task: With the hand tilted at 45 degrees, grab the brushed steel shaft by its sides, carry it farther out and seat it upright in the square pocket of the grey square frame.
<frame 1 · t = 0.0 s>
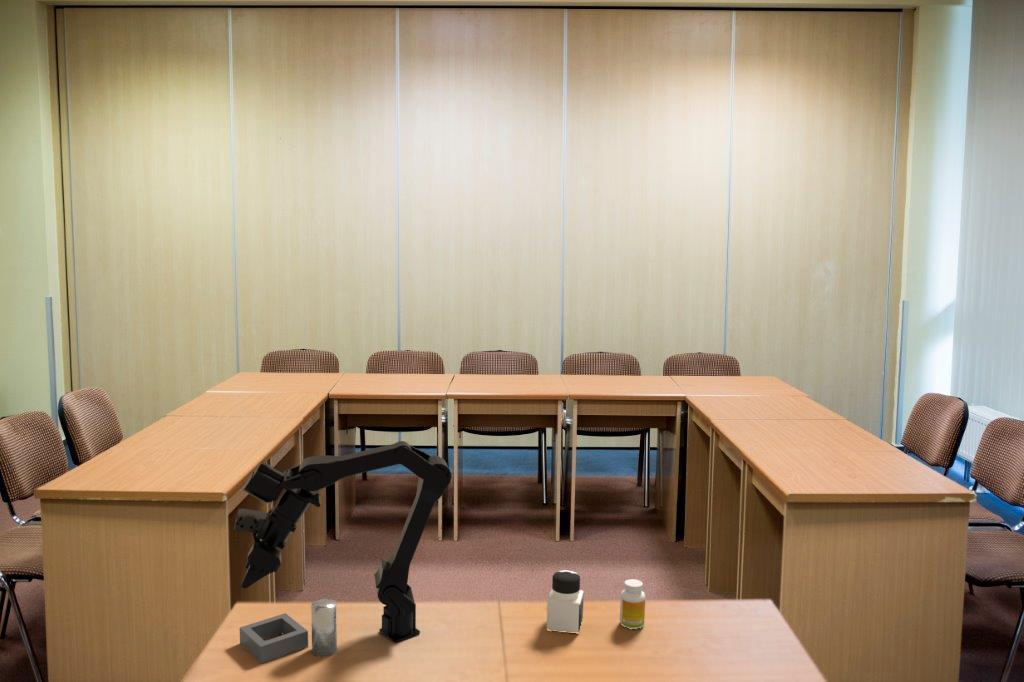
hand: (245, 577, 169), 15 cm above the table, tool tilted 35°, fingers open, 9 cm apart
grey square frame: (274, 645, 171), on the table
supplement bottle: (631, 625, 183), on the table
steel shaft: (324, 650, 170), on the table
medicine bottle: (564, 626, 182), on the table
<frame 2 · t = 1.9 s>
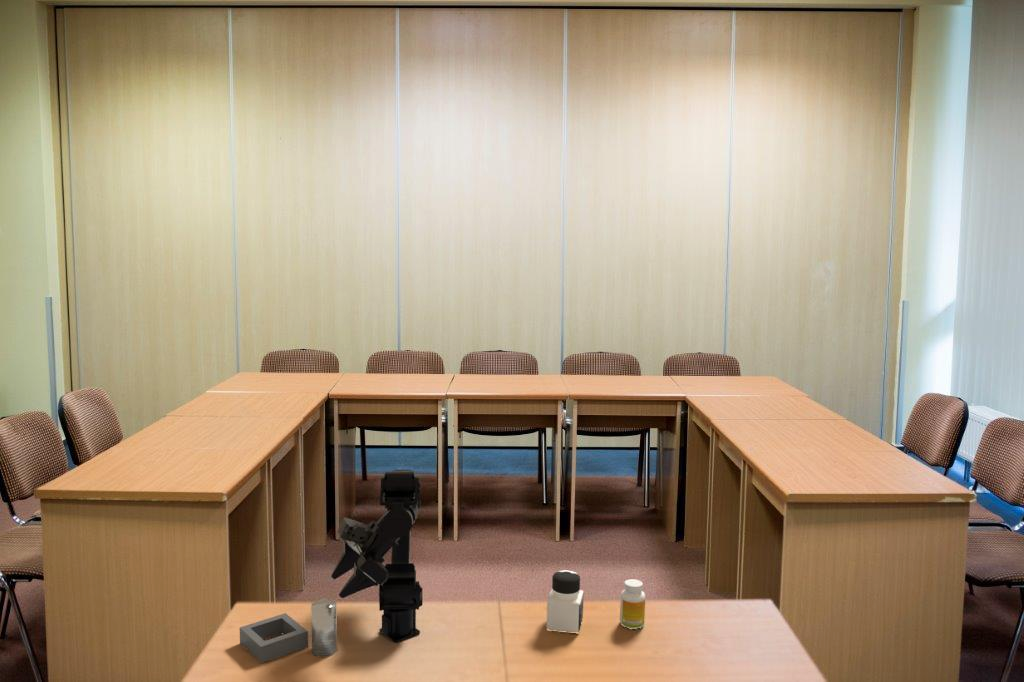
hand: (336, 587, 169), 13 cm above the table, tool tilted 45°, fingers open, 9 cm apart
nothing on the table moved.
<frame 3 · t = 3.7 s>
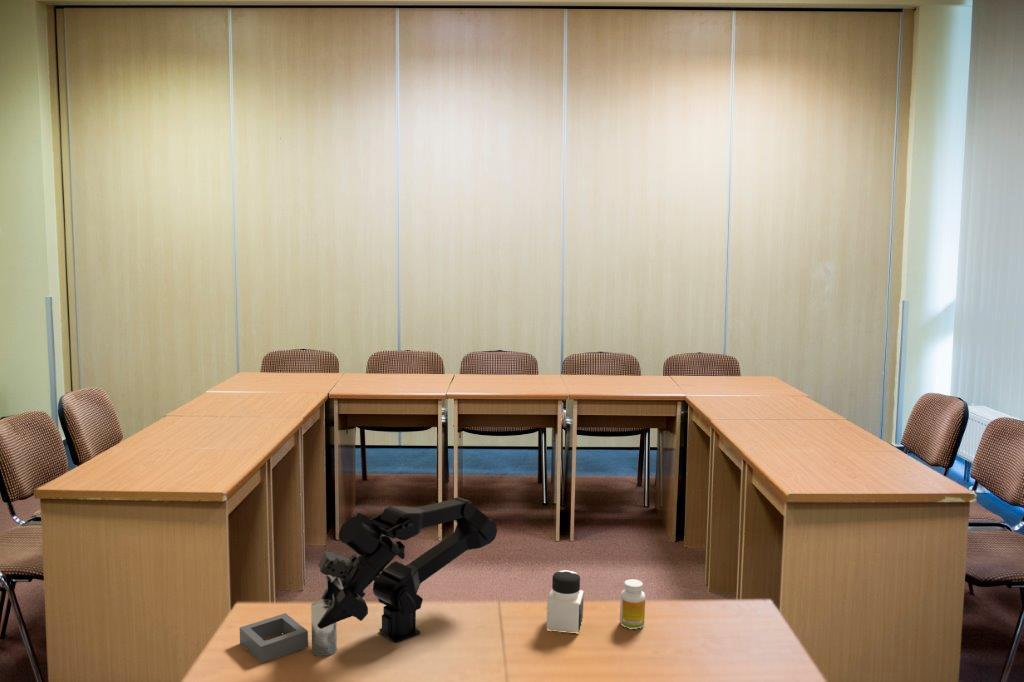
hand: (317, 621, 168), 7 cm above the table, tool tilted 45°, fingers closed on steel shaft, 5 cm apart
steel shaft: (324, 650, 170), on the table, touching gripper
everything else where it was.
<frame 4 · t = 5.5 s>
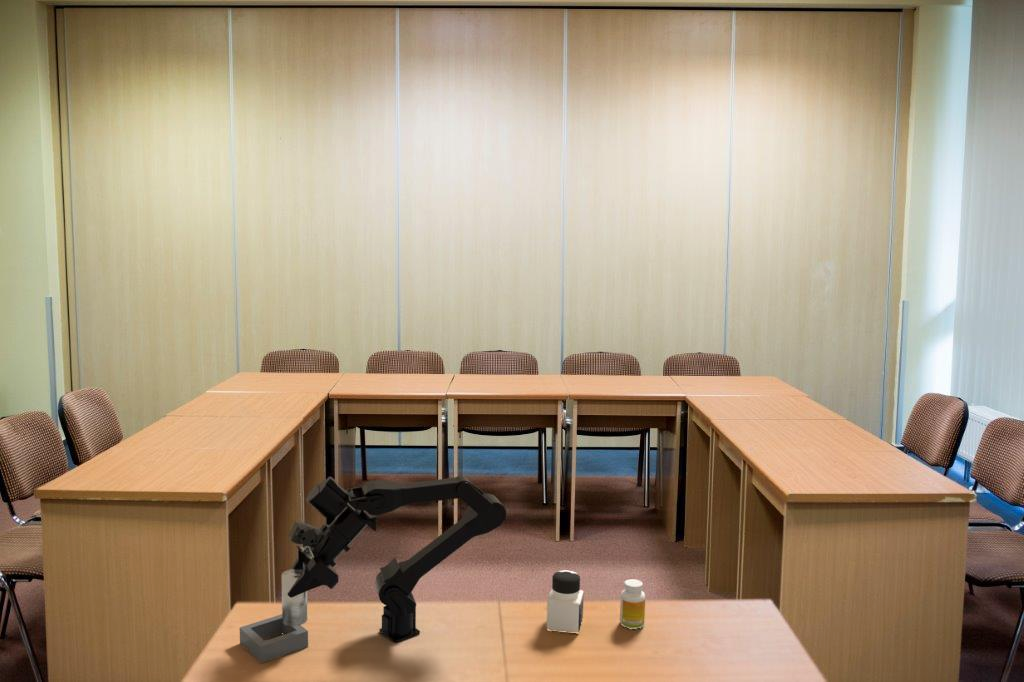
hand: (287, 590, 168), 13 cm above the table, tool tilted 45°, fingers closed on steel shaft, 5 cm apart
steel shaft: (294, 620, 169), point 6 cm above the table, touching gripper
everything else where it was.
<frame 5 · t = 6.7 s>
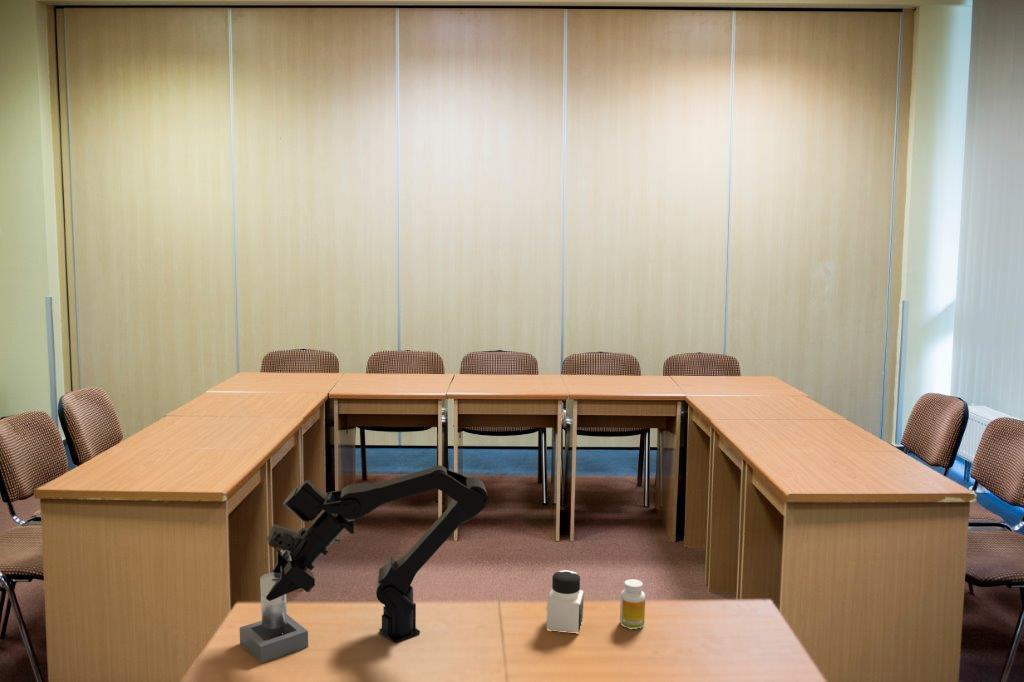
hand: (266, 593, 169), 11 cm above the table, tool tilted 45°, fingers closed on steel shaft, 5 cm apart
steel shaft: (274, 623, 171), point 5 cm above the table, touching gripper
everything else where it was.
when the fingers open (8 cm above the table, at t = 7.7 s): steel shaft drops 2 cm, resting in grey square frame.
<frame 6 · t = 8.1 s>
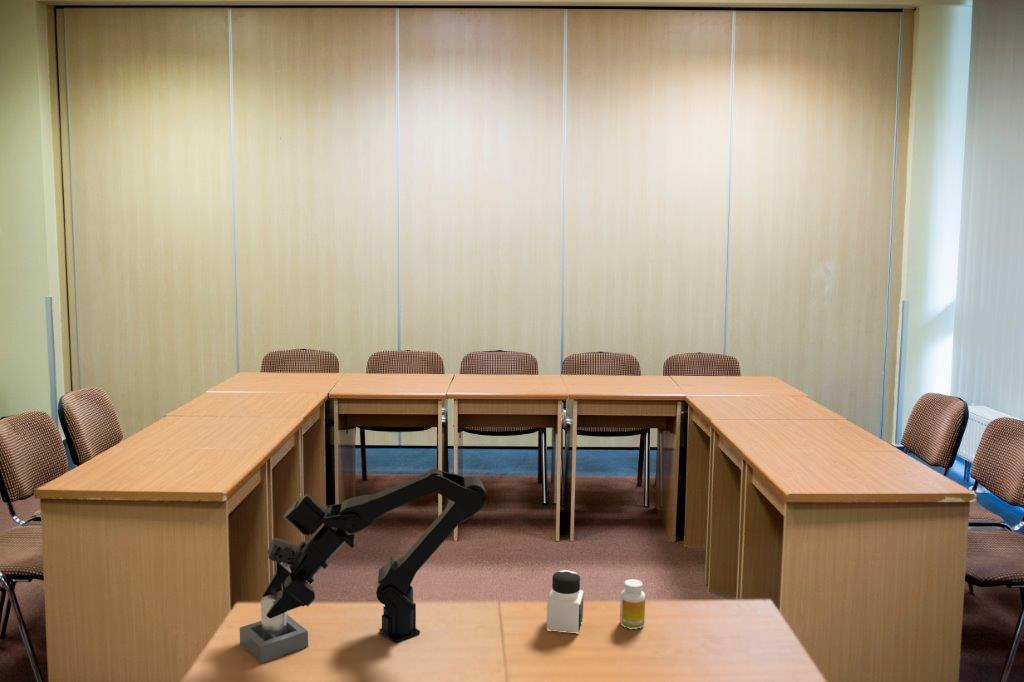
hand: (266, 607, 170), 9 cm above the table, tool tilted 45°, fingers open, 9 cm apart
steel shaft: (274, 645, 171), resting in grey square frame
everything else where it was.
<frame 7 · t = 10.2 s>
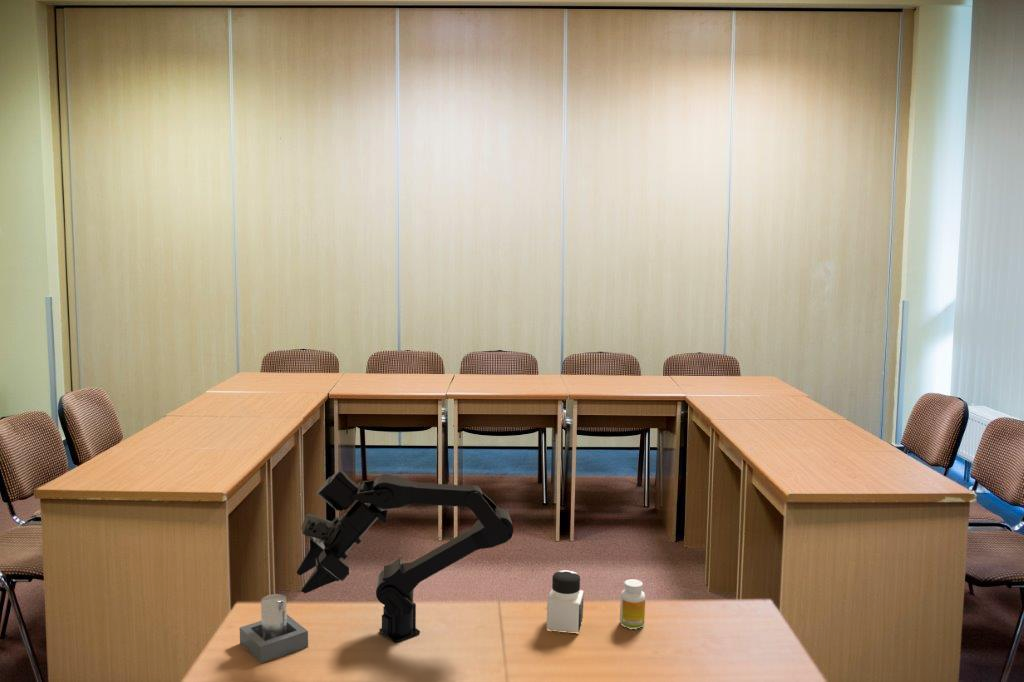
hand: (300, 582, 170), 13 cm above the table, tool tilted 45°, fingers open, 9 cm apart
nothing on the table moved.
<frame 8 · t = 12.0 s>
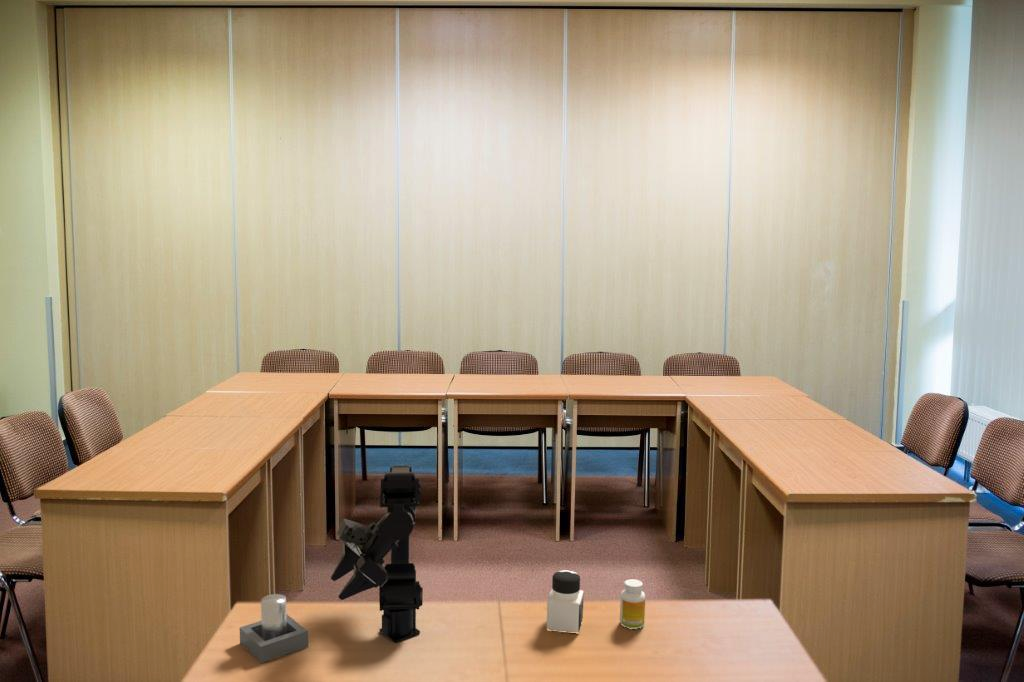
hand: (336, 588, 167), 14 cm above the table, tool tilted 45°, fingers open, 9 cm apart
nothing on the table moved.
at the end: steel shaft 0.2 cm off-centre on the grey square frame, point 0.0 cm above the grey square frame's base; steel shaft tilted 0°; the gripper is holding nothing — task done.
